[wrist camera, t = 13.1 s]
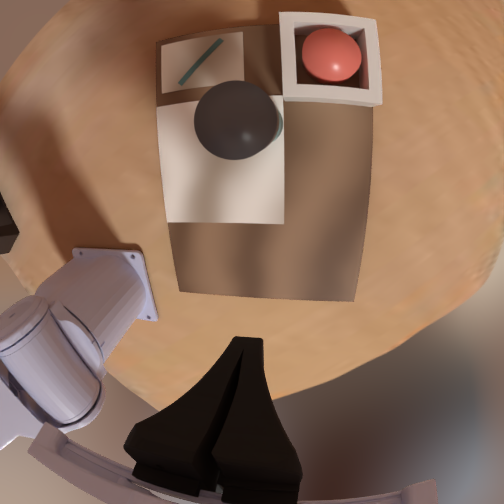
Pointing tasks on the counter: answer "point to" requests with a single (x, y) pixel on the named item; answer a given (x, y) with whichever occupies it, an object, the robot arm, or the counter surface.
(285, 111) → the drawing board
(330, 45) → the button
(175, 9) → the counter surface
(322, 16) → the button housing
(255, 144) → the marker
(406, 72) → the counter surface
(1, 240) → the black spring clamp
